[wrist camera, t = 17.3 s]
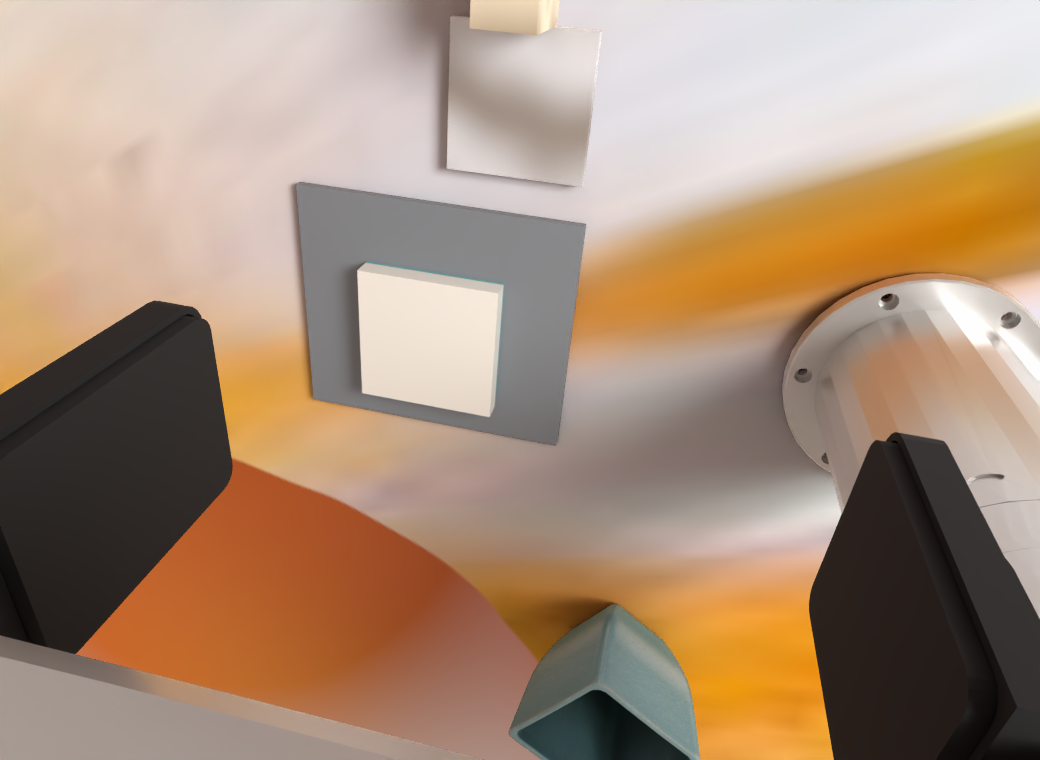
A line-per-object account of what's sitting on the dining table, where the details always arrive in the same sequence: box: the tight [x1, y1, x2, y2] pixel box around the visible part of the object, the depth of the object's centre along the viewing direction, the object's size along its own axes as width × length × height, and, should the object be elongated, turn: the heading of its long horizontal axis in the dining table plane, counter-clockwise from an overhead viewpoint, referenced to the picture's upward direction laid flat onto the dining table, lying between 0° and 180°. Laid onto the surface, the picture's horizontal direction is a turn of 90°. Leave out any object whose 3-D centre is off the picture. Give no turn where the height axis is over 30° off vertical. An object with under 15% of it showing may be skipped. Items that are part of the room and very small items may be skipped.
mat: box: [296, 182, 586, 446], centre depth 42 cm, size 16×14×1 cm
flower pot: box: [509, 604, 700, 760], centre depth 48 cm, size 9×9×9 cm
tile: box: [357, 262, 504, 417], centre depth 42 cm, size 8×1×8 cm
